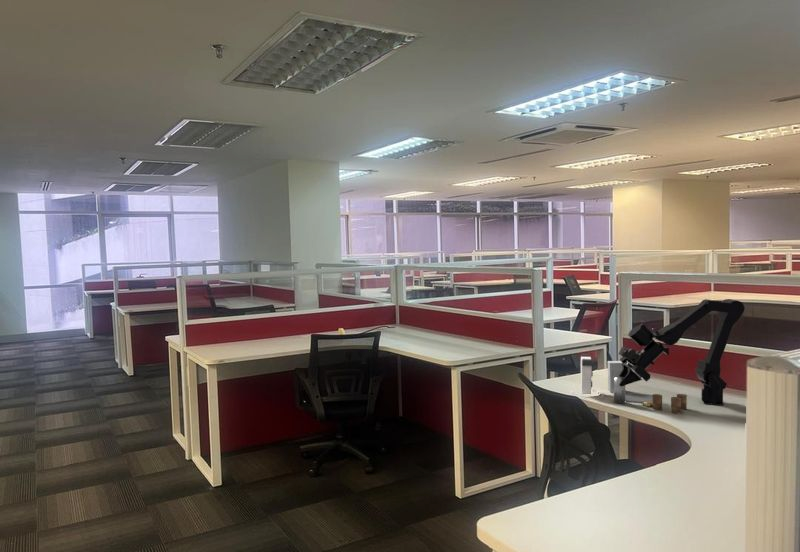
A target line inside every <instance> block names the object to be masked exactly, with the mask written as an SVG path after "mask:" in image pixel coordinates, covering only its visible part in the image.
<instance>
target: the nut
mask: <svg viewBox="0 0 800 552" xmlns="http://www.w3.org/2000/svg"><path fill="white" fill-rule="evenodd" d="M642 407H645V408H653V401H643V403H642Z"/></svg>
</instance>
